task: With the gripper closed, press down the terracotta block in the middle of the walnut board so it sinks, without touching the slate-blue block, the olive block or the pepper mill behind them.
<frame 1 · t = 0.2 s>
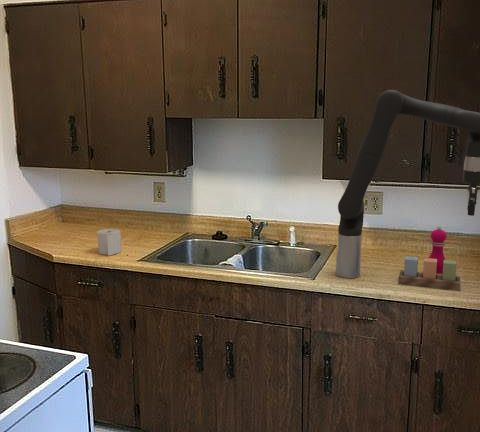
hand: (470, 213, 199), 29 cm above the countertop, tool pointing down, fingers open, 8 cm apart
walnut board: (428, 283, 209), on the countertop
light grey block: (110, 252, 256), on the countertop
pepper mill: (435, 274, 221), on the countertop
slate block: (410, 266, 211), point 6 cm above the countertop, slide at 0.0 cm
terracotta block: (429, 268, 208), point 6 cm above the countertop, slide at 0.0 cm
olive block: (449, 270, 206), point 6 cm above the countertop, slide at 0.0 cm
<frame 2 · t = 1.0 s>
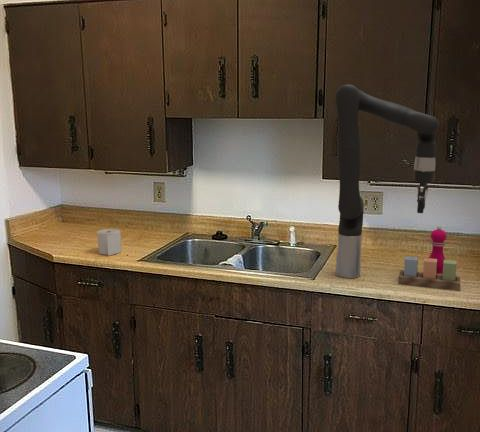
hand: (420, 210, 209), 28 cm above the countertop, tool pointing down, fingers open, 8 cm apart
nothing on the countertop moved.
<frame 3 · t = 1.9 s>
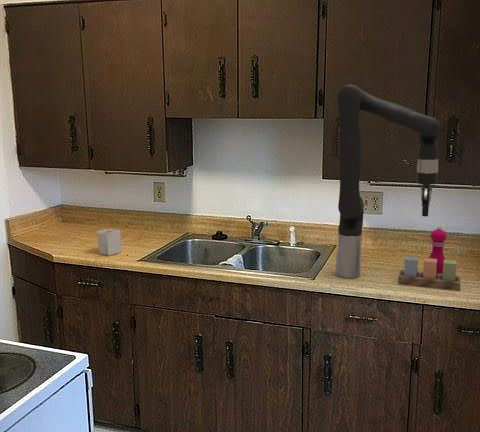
hand: (425, 216, 207), 26 cm above the countertop, tool pointing down, fingers closed
nothing on the countertop moved.
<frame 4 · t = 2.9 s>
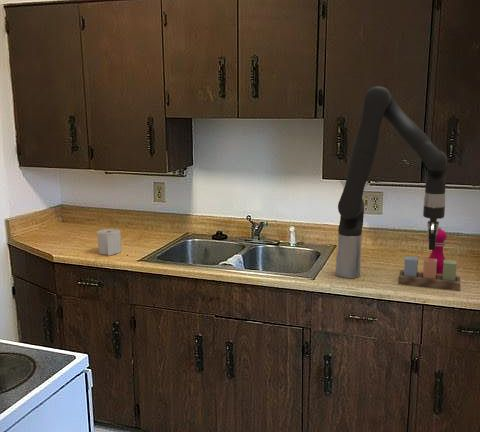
hand: (431, 249, 206), 14 cm above the countertop, tool pointing down, fingers closed
nothing on the countertop moved.
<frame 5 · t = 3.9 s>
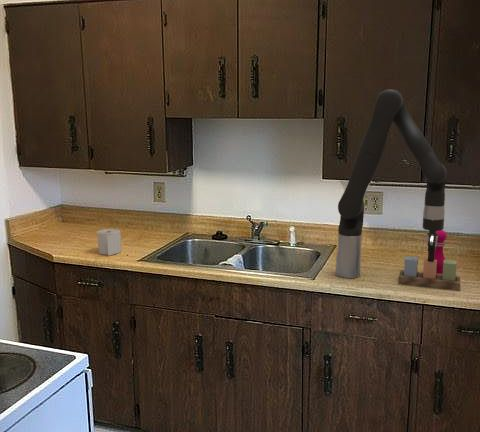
hand: (430, 260, 207), 9 cm above the countertop, tool pointing down, fingers closed
terracotta block: (429, 269, 208), point 6 cm above the countertop, slide at 0.4 cm, touching gripper
everything else where it was.
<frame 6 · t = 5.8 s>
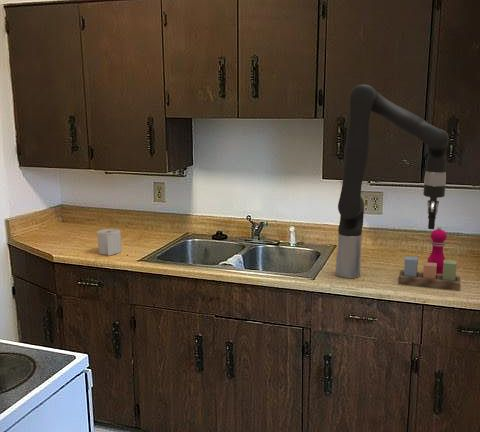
hand: (431, 228, 205), 22 cm above the countertop, tool pointing down, fingers closed
terracotta block: (429, 273, 208), point 4 cm above the countertop, slide at 1.7 cm
everything else where it was.
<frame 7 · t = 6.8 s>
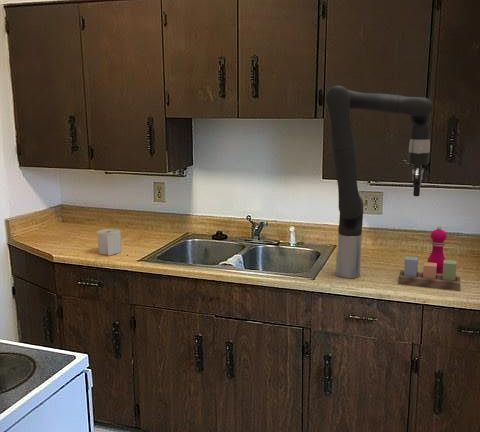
hand: (416, 195, 210), 33 cm above the countertop, tool pointing down, fingers closed
nothing on the countertop moved.
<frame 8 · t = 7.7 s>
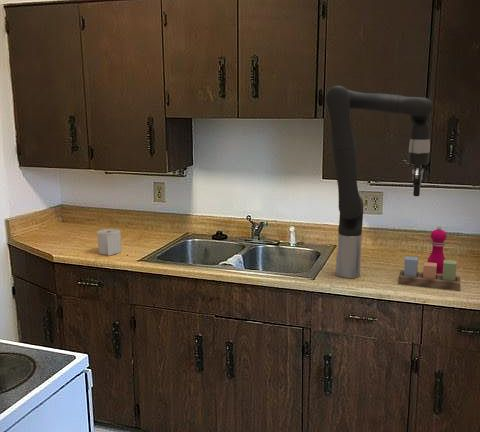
hand: (416, 195, 210), 33 cm above the countertop, tool pointing down, fingers closed
nothing on the countertop moved.
at the end: terracotta block slide at 1.7 cm; slate block slide at 0.0 cm; olive block slide at 0.0 cm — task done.
